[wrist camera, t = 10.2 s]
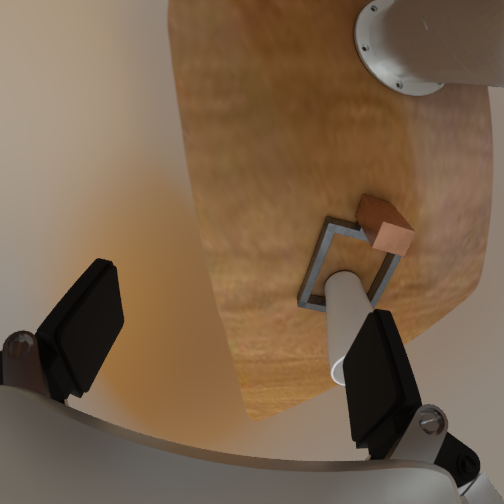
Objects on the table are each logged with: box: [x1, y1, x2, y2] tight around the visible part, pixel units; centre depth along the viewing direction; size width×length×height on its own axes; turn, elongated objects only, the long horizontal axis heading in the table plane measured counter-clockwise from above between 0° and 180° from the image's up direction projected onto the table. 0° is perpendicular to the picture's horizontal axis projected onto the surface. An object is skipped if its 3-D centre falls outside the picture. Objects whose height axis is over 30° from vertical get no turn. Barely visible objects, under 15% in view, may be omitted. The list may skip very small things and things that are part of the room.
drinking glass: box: [324, 271, 374, 386], centre depth 34 cm, size 7×7×15 cm
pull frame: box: [297, 194, 415, 312], centre depth 34 cm, size 17×11×8 cm, turn 168°
